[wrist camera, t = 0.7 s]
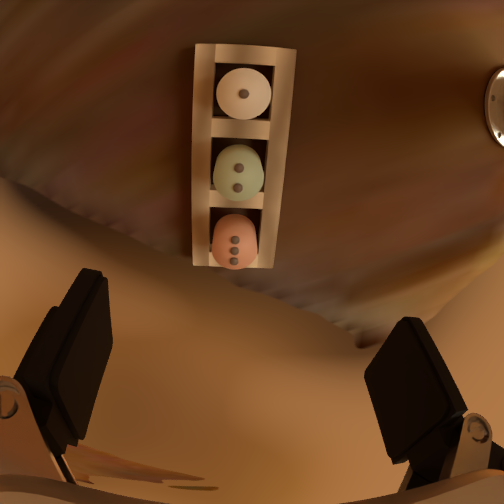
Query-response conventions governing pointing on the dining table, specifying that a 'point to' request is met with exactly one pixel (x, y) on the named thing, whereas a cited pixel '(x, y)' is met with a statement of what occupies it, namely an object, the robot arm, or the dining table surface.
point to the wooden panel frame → (230, 127)
